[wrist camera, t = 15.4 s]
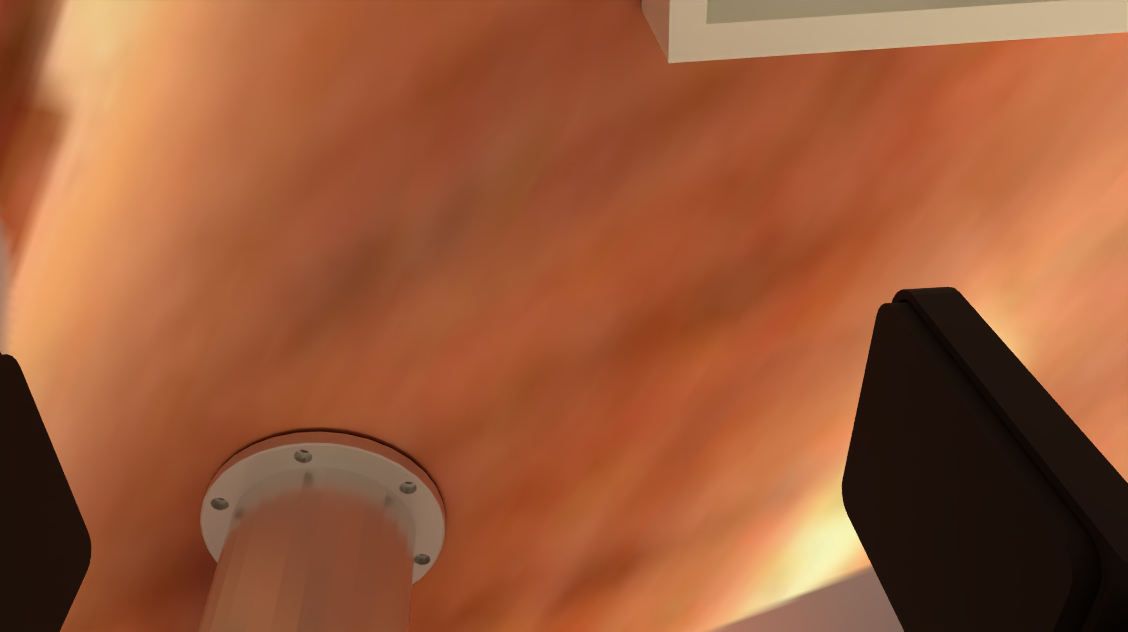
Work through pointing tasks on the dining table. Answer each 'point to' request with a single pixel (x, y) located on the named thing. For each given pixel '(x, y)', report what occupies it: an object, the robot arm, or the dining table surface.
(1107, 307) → the dining table surface
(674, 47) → the bin
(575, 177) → the dining table surface
